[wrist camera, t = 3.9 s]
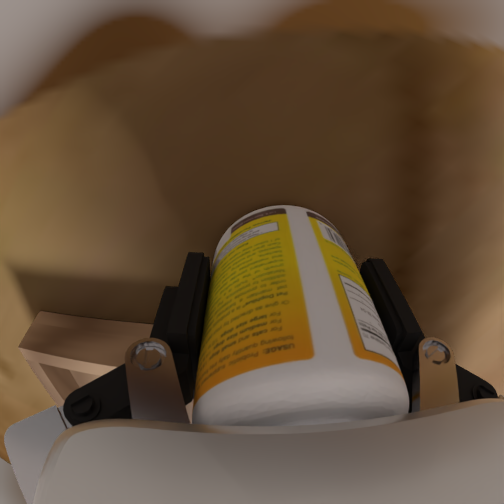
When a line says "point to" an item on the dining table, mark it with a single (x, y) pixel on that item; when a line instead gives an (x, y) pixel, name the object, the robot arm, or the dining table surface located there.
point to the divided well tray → (78, 350)
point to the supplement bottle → (291, 329)
